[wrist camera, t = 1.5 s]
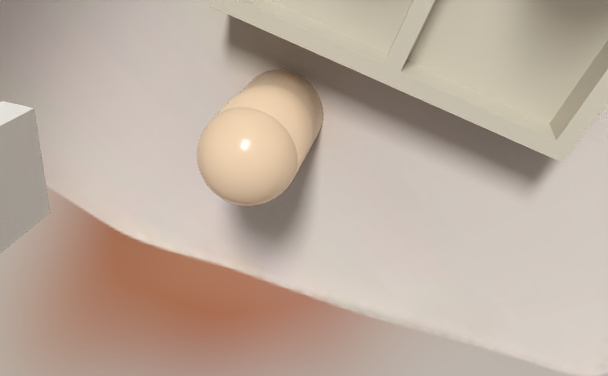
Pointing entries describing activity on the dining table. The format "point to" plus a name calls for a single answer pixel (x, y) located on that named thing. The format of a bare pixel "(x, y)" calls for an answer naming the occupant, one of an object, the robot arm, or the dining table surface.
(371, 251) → the dining table surface
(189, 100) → the dining table surface
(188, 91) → the dining table surface
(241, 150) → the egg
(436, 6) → the egg tray
